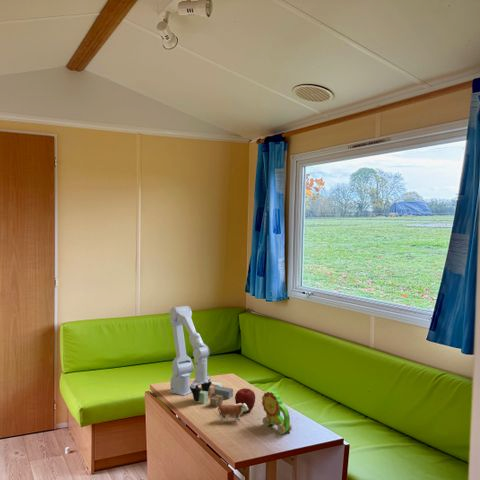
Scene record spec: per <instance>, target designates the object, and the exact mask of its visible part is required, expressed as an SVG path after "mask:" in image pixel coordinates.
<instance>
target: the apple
mask: <svg viewBox="0 0 480 480" xmlns="http://www.w3.org/2000/svg"><path fill="white" fill-rule="evenodd" d="M234 398H235V399H234V400H235V401H234V402H235V404H239V403H241V404H243V403H246V405H247V407H248V409H249V410H248V411H243V413H247V412H248V413H249V412H250V411H252V410H253V409H254V407H255V403H256V393H255V392H254V391H253V390H252V389H250V388H247V387H246V388H245V387H244V388H240V389H238V390H237V392H236V393H235V397H234Z"/></svg>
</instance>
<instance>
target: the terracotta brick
mask: <svg viewBox="0 0 480 480" xmlns="http://www.w3.org/2000/svg"><path fill="white" fill-rule="evenodd" d="M200 388H201V390H202V386H201V385H200ZM213 395H214V386H210V388H209V391H208V397H211V396H213Z"/></svg>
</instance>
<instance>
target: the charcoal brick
mask: <svg viewBox="0 0 480 480" xmlns="http://www.w3.org/2000/svg"><path fill="white" fill-rule="evenodd" d="M213 395H214V396H215V395H221V396H223V399H224V400H231V398H232V397H234V388H233V387H232V388H230V387H225V386H222V387H220V386H219V387H217V388H216V389H214V394H213ZM214 396H213V397H214Z"/></svg>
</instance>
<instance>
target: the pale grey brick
mask: <svg viewBox="0 0 480 480" xmlns="http://www.w3.org/2000/svg"><path fill="white" fill-rule="evenodd" d="M211 382H212V384H211V385H210V386H214V389H216V388H217V387H219V386H220V387H223V383H221V382H218V381H217V382H216V381H211Z"/></svg>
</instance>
